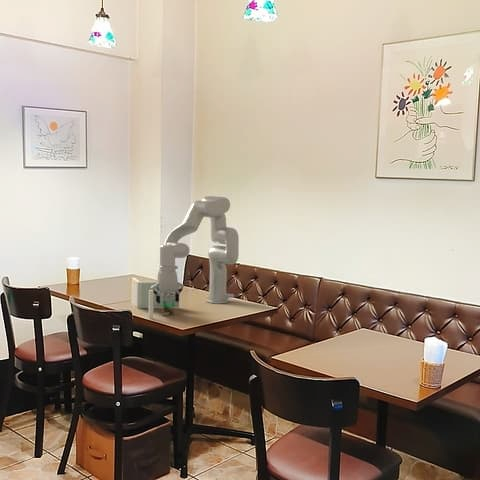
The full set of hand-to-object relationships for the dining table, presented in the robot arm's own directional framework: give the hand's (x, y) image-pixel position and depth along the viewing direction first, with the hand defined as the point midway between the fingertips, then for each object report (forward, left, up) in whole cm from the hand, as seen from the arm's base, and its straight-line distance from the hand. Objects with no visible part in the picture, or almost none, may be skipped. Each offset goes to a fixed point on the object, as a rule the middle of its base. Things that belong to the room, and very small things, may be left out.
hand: (167, 302), depth 300 cm
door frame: (+11, -11, -6) cm, 16 cm away
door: (0, -13, -6) cm, 15 cm away
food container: (-1, 0, -6) cm, 6 cm away
